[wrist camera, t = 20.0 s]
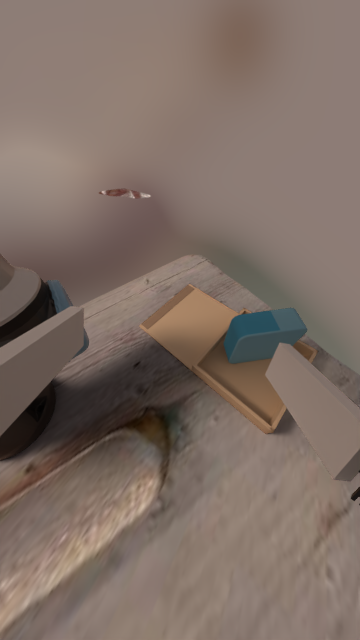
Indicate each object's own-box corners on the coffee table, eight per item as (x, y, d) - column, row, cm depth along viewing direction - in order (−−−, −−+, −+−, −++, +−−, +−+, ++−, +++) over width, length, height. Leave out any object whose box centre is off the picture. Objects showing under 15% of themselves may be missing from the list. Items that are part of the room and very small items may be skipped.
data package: (273, 338, 43) (298, 306, 33) (282, 357, 41) (312, 327, 31) (222, 346, 43) (232, 315, 33) (227, 365, 40) (240, 337, 30)
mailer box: (139, 326, 47) (136, 318, 44) (189, 285, 55) (189, 275, 52) (265, 434, 33) (273, 432, 30) (308, 358, 41) (318, 351, 38)
